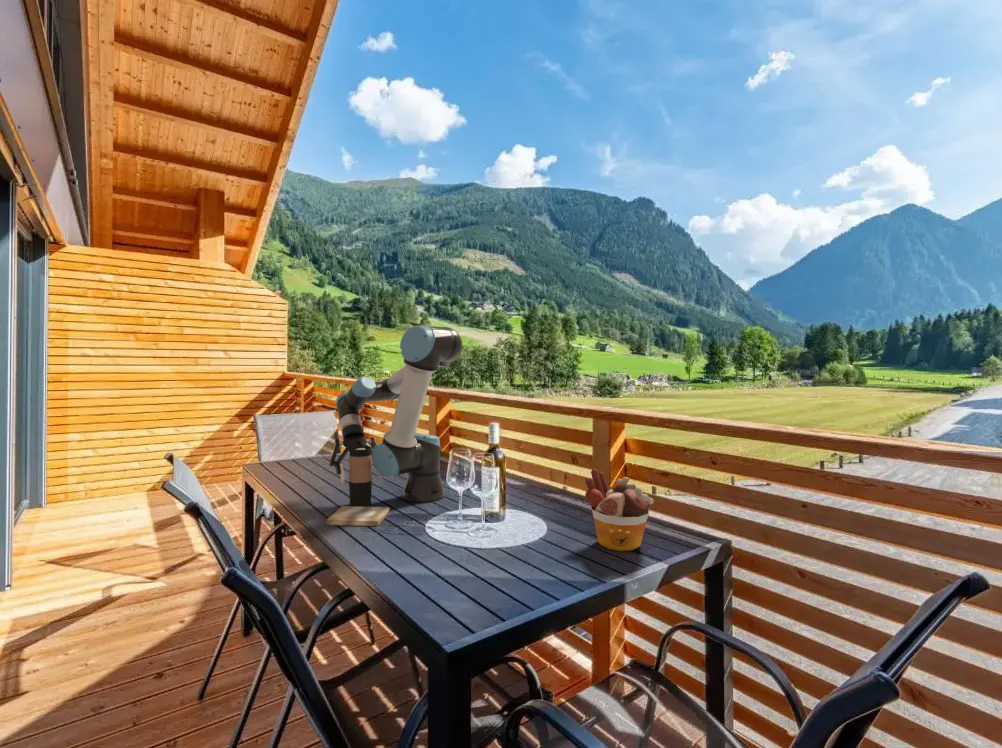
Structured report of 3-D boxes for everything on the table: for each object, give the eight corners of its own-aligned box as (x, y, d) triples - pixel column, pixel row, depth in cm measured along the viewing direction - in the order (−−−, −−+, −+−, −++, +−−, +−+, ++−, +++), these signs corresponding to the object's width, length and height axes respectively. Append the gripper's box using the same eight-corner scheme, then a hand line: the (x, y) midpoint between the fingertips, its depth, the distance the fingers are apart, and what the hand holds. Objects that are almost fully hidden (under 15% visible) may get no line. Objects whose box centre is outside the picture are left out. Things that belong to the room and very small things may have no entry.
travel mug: (344, 505, 176) (344, 448, 175) (360, 500, 182) (360, 445, 182) (360, 509, 172) (361, 450, 171) (376, 503, 179) (376, 447, 178)
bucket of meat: (664, 547, 141) (666, 476, 141) (629, 562, 131) (631, 486, 130) (606, 528, 157) (608, 464, 156) (571, 540, 146) (572, 471, 145)
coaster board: (389, 511, 170) (389, 506, 170) (378, 525, 156) (378, 520, 156) (342, 510, 170) (342, 505, 170) (326, 524, 156) (326, 519, 156)
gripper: (382, 433, 196) (394, 481, 183) (316, 437, 184) (324, 489, 171) (386, 421, 191) (398, 469, 178) (318, 425, 179) (327, 477, 166)
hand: (362, 479), depth 175 cm, fingers open, 12 cm apart
